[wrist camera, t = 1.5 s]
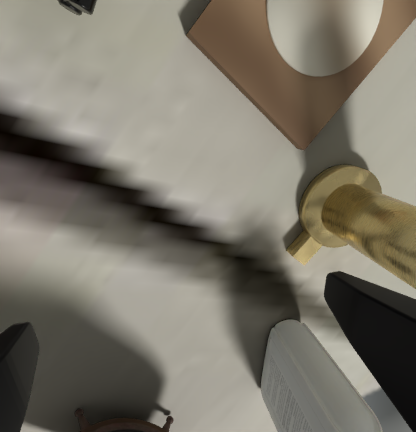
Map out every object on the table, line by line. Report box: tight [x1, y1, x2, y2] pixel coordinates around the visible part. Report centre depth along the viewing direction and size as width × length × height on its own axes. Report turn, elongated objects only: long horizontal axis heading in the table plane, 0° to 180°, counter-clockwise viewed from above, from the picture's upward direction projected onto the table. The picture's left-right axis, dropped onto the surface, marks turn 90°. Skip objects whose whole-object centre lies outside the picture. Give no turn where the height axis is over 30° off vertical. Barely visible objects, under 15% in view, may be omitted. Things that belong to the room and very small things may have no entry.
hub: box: [287, 164, 416, 289], centre depth 20 cm, size 9×7×12 cm
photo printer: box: [261, 319, 382, 432], centre depth 25 cm, size 10×4×12 cm, turn 176°
